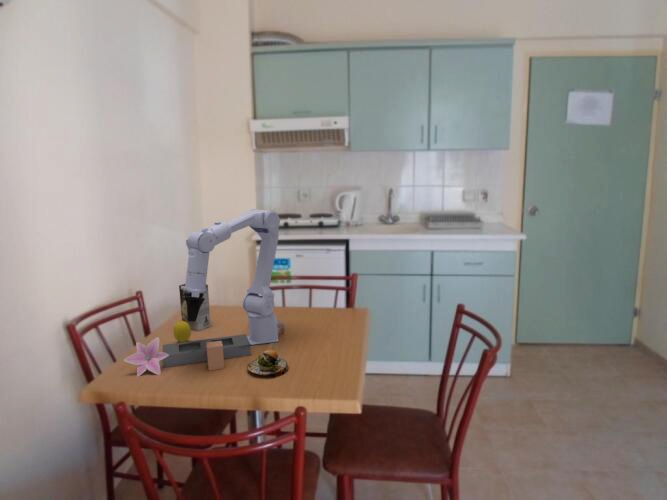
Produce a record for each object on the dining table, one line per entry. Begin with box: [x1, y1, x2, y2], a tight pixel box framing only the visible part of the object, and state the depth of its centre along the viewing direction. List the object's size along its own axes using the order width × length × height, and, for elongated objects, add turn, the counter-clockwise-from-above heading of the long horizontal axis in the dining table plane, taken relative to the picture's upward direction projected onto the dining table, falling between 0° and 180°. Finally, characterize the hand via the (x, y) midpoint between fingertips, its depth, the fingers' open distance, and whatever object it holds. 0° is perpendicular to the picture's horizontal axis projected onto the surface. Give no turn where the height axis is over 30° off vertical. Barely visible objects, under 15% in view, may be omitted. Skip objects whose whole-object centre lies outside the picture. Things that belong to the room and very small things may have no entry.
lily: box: [123, 336, 169, 377], centre depth 144 cm, size 11×11×9 cm
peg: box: [206, 341, 225, 371], centre depth 145 cm, size 4×4×7 cm
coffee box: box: [178, 283, 211, 332], centre depth 181 cm, size 9×6×16 cm
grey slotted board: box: [161, 333, 252, 368], centre depth 154 cm, size 26×10×4 cm, turn 108°
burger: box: [246, 345, 289, 378], centre depth 142 cm, size 12×12×8 cm
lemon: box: [173, 319, 192, 343], centre depth 165 cm, size 6×6×8 cm
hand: (191, 318), depth 144 cm, fingers open, 7 cm apart
